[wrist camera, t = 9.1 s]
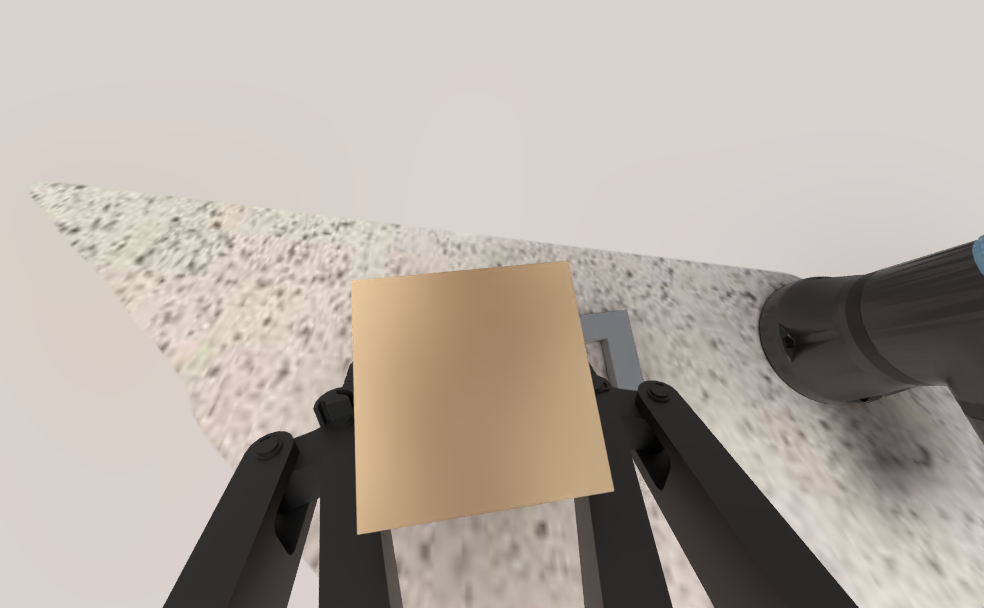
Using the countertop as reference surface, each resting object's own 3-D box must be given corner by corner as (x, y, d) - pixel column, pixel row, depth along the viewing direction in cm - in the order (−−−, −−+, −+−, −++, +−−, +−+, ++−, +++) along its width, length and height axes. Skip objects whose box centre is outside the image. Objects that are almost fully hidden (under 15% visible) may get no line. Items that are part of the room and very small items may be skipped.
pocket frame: (619, 314, 42) (626, 309, 40) (644, 421, 39) (653, 422, 37) (518, 325, 41) (520, 321, 39) (534, 437, 38) (538, 439, 36)
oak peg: (503, 348, 22) (568, 260, 8) (515, 433, 20) (614, 491, 7) (422, 358, 21) (350, 280, 8) (429, 445, 20) (357, 534, 6)
